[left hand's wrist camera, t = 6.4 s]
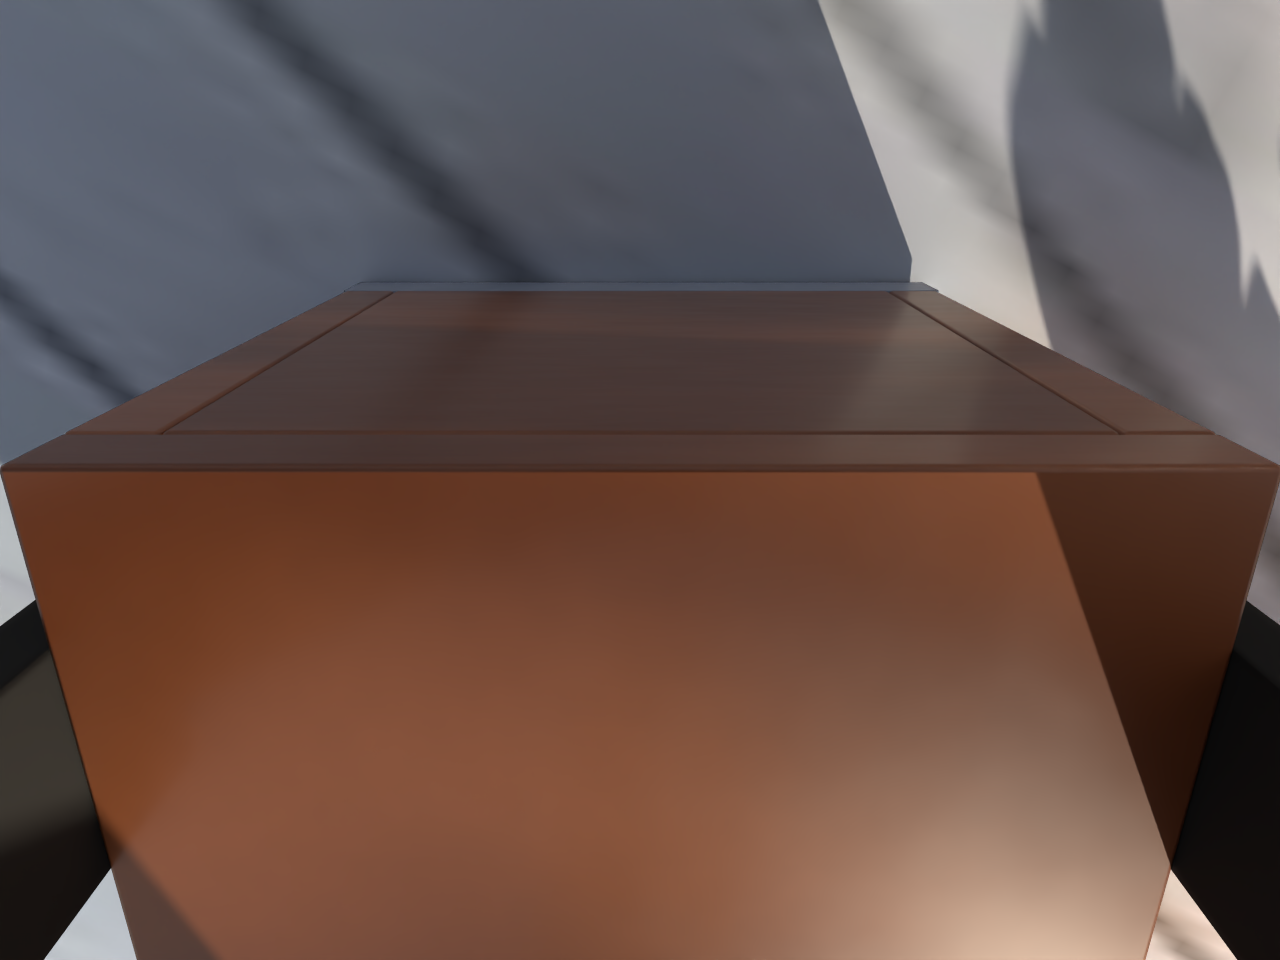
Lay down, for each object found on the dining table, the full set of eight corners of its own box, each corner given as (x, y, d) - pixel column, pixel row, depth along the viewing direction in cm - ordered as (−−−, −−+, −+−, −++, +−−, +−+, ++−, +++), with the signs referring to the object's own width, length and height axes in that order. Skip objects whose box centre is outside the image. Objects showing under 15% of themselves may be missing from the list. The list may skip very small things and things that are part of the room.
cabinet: (852, 894, 23) (1009, 1453, 13) (429, 893, 23) (272, 1450, 13) (922, 282, 18) (1289, 465, 8) (360, 282, 18) (-9, 465, 8)
